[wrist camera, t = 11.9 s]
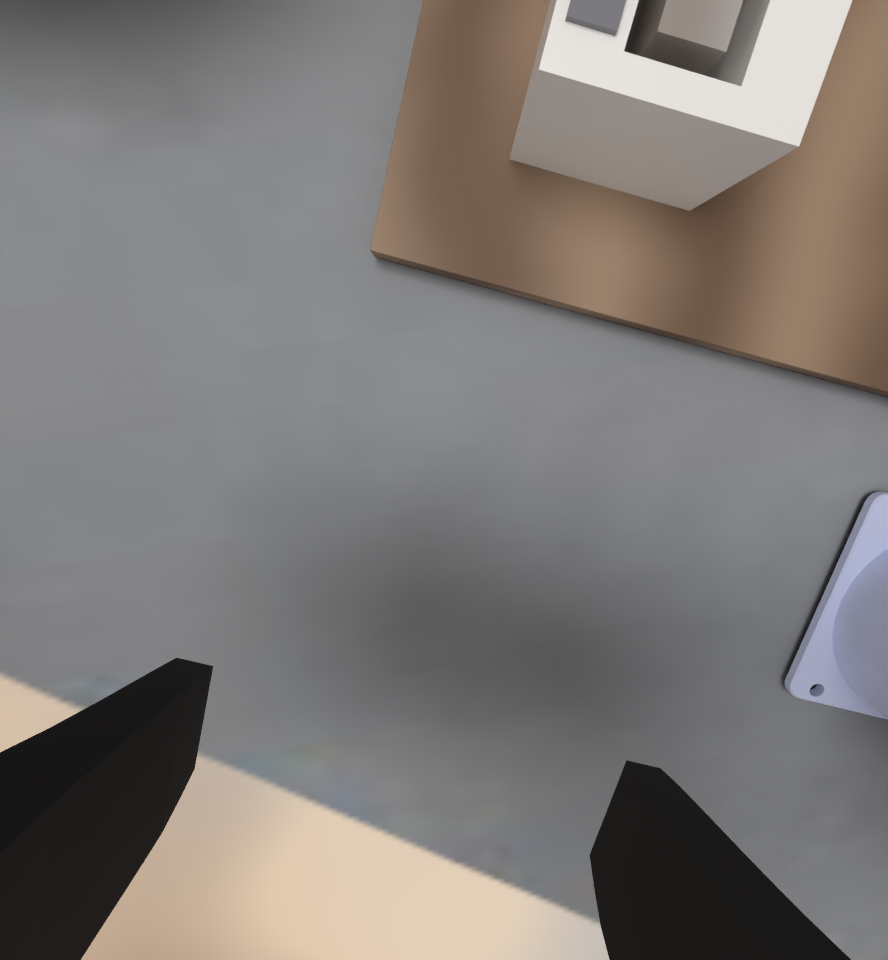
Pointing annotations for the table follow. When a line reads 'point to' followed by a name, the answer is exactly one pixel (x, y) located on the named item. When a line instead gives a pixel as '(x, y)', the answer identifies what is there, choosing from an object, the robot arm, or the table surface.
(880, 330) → the base
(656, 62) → the cube with recessed slot
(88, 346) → the table surface
